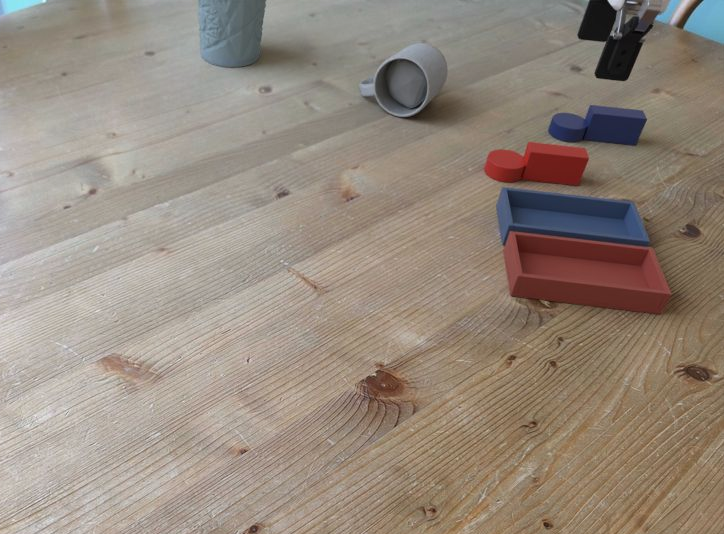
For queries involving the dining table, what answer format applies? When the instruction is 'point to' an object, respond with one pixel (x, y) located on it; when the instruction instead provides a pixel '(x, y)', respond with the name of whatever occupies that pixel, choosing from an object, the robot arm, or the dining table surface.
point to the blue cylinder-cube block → (599, 125)
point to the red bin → (585, 272)
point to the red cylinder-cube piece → (538, 164)
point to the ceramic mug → (407, 80)
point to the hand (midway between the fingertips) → (600, 58)
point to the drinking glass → (230, 31)
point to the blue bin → (570, 217)
